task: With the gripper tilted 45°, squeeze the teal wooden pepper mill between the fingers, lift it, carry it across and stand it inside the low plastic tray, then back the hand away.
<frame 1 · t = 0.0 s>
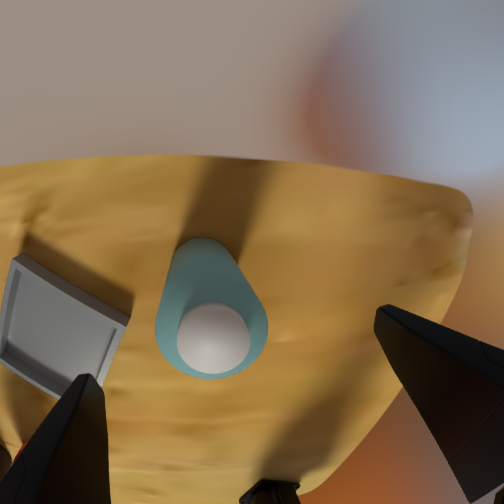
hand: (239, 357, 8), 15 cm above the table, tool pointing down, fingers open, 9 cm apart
pepper mill: (202, 269, 23), on the table
tray: (56, 336, 22), on the table
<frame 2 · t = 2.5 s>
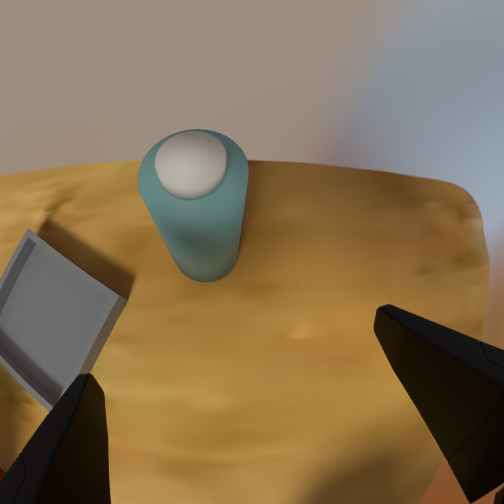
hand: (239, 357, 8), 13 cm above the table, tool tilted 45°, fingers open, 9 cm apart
pepper mill: (206, 250, 23), on the table
tray: (47, 322, 20), on the table
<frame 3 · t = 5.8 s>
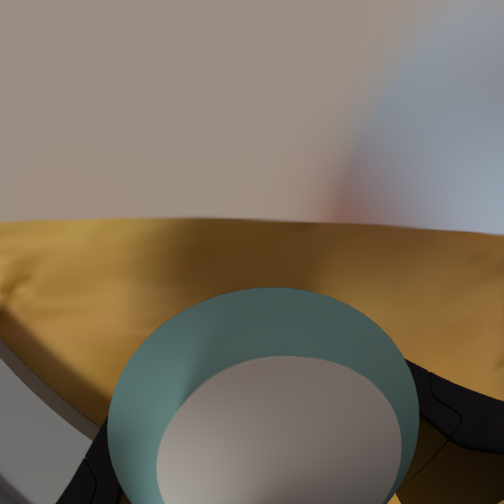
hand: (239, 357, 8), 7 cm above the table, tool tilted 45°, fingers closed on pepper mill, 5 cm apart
pepper mill: (240, 380, 14), on the table, touching gripper
tray: (24, 451, 11), on the table
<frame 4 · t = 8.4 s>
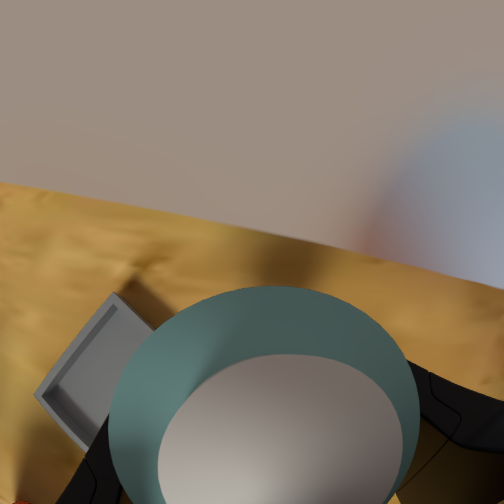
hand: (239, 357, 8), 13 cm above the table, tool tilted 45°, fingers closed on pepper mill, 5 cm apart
pepper mill: (240, 379, 14), point 7 cm above the table, touching gripper
tray: (129, 399, 19), on the table
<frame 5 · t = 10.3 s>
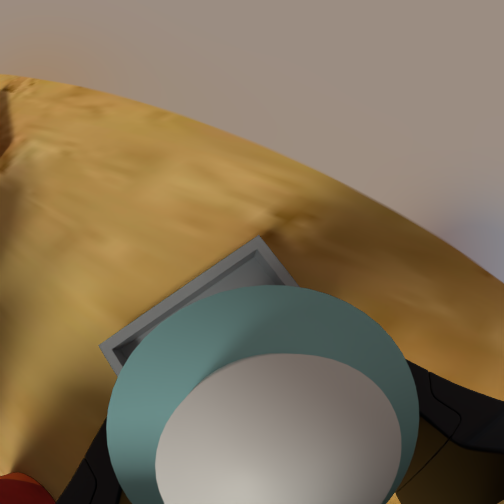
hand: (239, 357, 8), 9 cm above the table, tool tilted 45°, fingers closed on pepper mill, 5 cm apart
pepper mill: (240, 379, 14), point 3 cm above the table, touching gripper
paper cup: (34, 501, 11), on the table
tray: (237, 372, 17), on the table
when the fingers open (8 cm above the table, at t = 11.4 s): pepper mill stays where it is, resting on tray.
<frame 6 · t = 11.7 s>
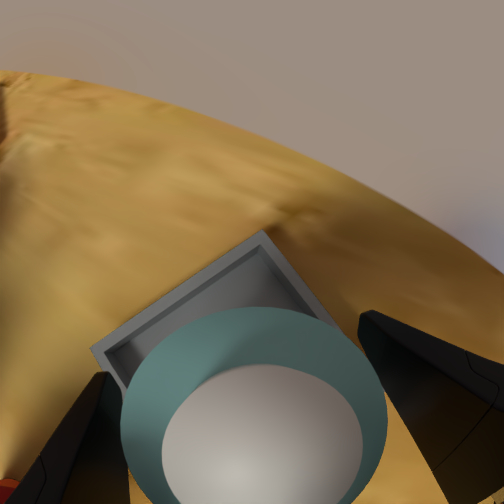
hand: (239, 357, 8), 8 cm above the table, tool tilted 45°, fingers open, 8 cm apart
pepper mill: (239, 380, 15), point 1 cm above the table, touching tray
tray: (238, 377, 15), on the table
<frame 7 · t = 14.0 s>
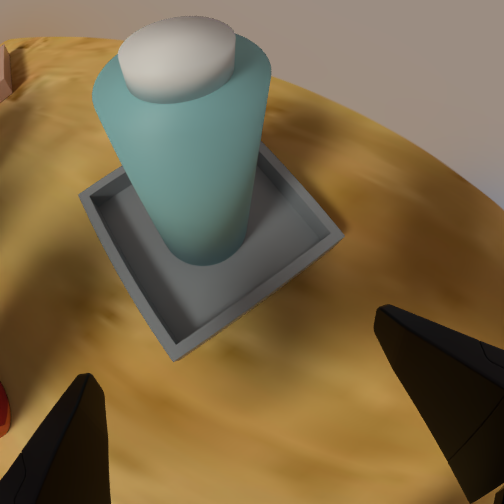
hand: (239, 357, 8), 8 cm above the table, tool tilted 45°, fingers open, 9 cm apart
pepper mill: (203, 224, 17), point 1 cm above the table, touching tray
tray: (204, 226, 18), on the table
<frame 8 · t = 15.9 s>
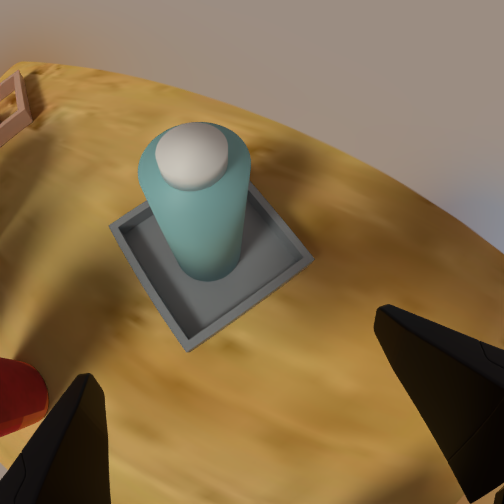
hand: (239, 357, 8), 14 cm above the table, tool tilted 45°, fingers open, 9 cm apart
pepper mill: (207, 249, 23), point 1 cm above the table, touching tray
paper cup: (26, 392, 18), on the table
tray: (208, 250, 23), on the table
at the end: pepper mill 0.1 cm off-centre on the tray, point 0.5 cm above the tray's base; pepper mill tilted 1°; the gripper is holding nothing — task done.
